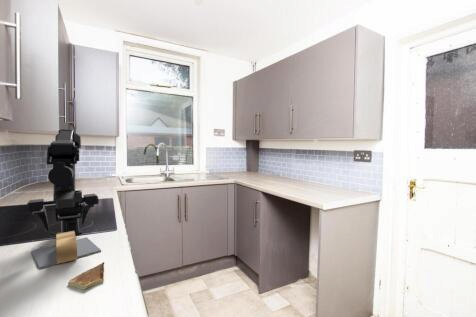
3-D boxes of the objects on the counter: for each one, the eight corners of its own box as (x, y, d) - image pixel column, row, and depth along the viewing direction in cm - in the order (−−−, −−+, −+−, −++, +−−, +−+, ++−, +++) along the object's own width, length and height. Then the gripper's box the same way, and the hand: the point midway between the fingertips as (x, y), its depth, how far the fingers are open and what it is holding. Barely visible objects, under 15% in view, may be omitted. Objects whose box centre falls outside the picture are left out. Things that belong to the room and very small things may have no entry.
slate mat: (31, 251, 80) (31, 250, 80) (86, 238, 91) (86, 237, 91) (39, 269, 69) (39, 267, 69) (101, 251, 80) (101, 250, 80)
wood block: (56, 233, 81) (56, 247, 71) (74, 230, 84) (76, 243, 74) (56, 248, 81) (56, 263, 71) (74, 244, 84) (77, 259, 74)
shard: (104, 266, 72) (103, 260, 71) (123, 271, 69) (123, 265, 69) (66, 286, 61) (66, 279, 61) (88, 293, 59) (88, 286, 59)
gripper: (23, 187, 67) (25, 242, 68) (100, 181, 78) (101, 229, 79) (27, 182, 76) (29, 231, 77) (95, 177, 87) (96, 220, 88)
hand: (65, 228), depth 80 cm, fingers open, 9 cm apart
